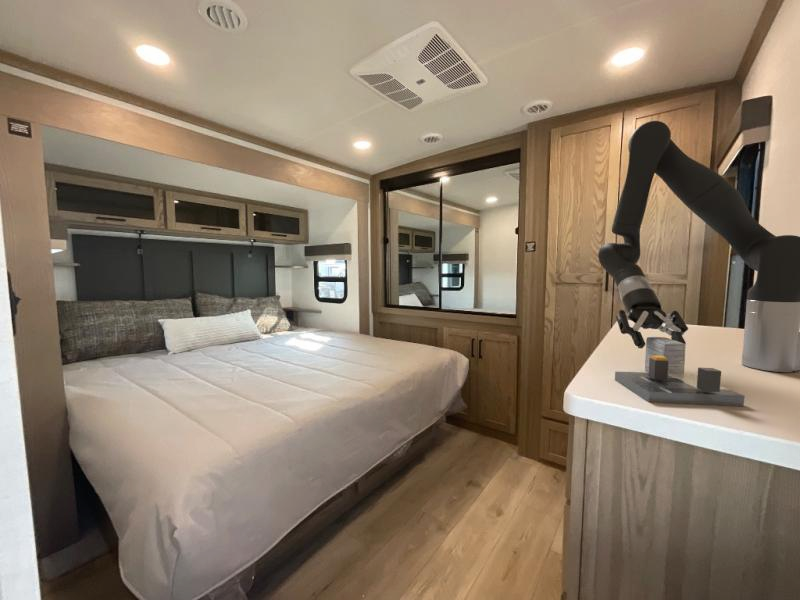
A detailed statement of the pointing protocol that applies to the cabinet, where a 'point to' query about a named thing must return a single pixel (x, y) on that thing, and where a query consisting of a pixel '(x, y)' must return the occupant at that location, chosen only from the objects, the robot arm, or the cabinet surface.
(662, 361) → the block
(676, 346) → the light grey block
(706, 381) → the block
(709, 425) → the cabinet surface
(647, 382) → the board
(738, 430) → the cabinet surface
